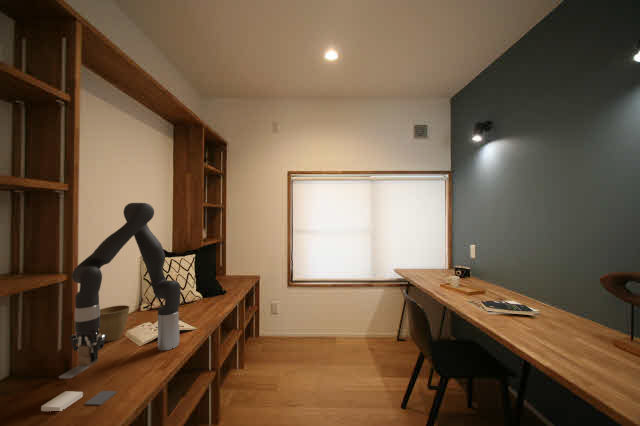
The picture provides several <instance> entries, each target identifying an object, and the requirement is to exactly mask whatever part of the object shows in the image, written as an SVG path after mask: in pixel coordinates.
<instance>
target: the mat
mask: <svg viewBox="0 0 640 426" xmlns="http://www.w3.org/2000/svg"><path fill="white" fill-rule="evenodd" d="M115 394H118V391H114V390H102V391H100V392H98V393H97V394H96V395H94V396H93V397H91V398H90V399H89V400H87V401H86V402H85V403H84V406H85V405H86V406H101V405H103V404H104V403H106V402H107V401H108V400H110V399H111V398H112V397H113V396H115Z"/></svg>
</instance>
